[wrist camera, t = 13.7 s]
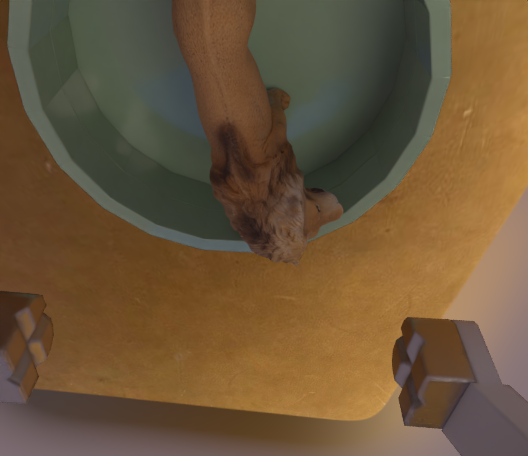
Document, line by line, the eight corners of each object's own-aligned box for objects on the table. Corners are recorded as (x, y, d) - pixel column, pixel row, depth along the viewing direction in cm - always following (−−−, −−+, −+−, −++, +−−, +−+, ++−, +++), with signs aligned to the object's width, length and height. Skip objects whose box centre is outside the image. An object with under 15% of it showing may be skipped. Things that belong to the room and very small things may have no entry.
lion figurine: (335, 153, 27) (357, 264, 20) (248, 182, 29) (241, 295, 22) (227, -154, 19) (200, -143, 12) (110, -93, 20) (24, -51, 13)
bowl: (470, -164, 19) (528, -161, 15) (375, 199, 30) (392, 260, 26) (13, -202, 18) (-65, -210, 14) (90, 183, 30) (60, 242, 25)
